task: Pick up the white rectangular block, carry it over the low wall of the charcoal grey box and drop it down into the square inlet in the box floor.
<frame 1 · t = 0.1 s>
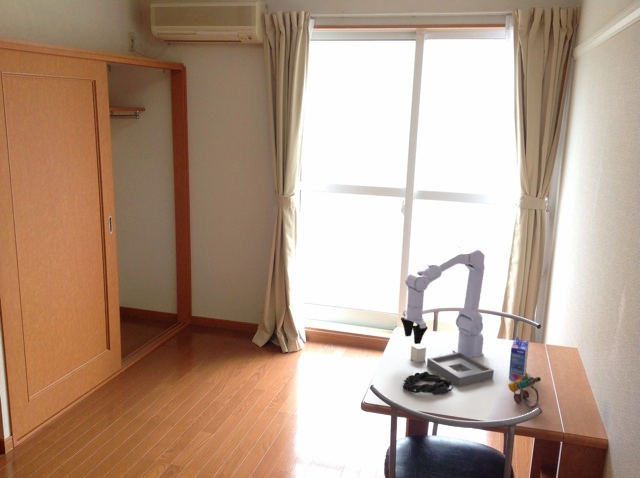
hand: (412, 339, 215), 10 cm above the table, tool pointing down, fingers open, 7 cm apart
white rectangular block: (417, 359, 222), on the table
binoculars: (522, 402, 191), on the table
cable: (424, 388, 199), on the table
walled box: (459, 372, 211), on the table
ink cartridge box: (516, 375, 211), on the table
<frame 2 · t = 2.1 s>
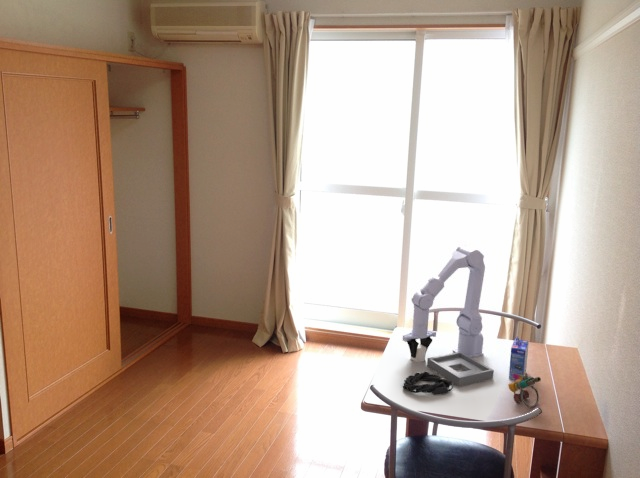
hand: (418, 356, 222), 1 cm above the table, tool pointing down, fingers closed on white rectangular block, 4 cm apart
white rectangular block: (417, 359, 222), on the table, touching gripper
everything else where it was.
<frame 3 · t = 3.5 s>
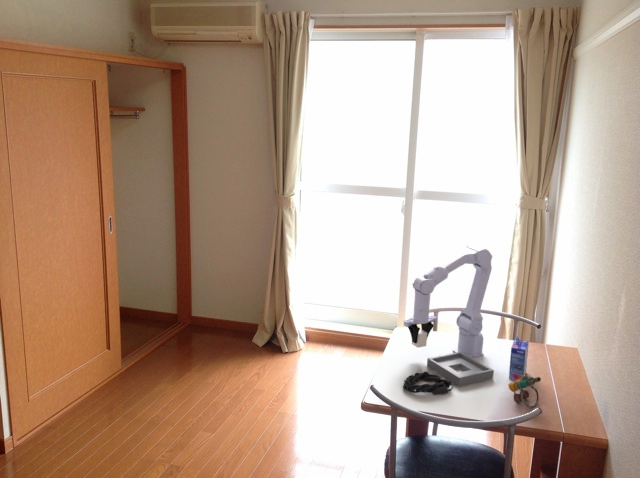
hand: (419, 341, 221), 7 cm above the table, tool pointing down, fingers closed on white rectangular block, 4 cm apart
white rectangular block: (418, 345, 221), point 6 cm above the table, touching gripper
everything else where it was.
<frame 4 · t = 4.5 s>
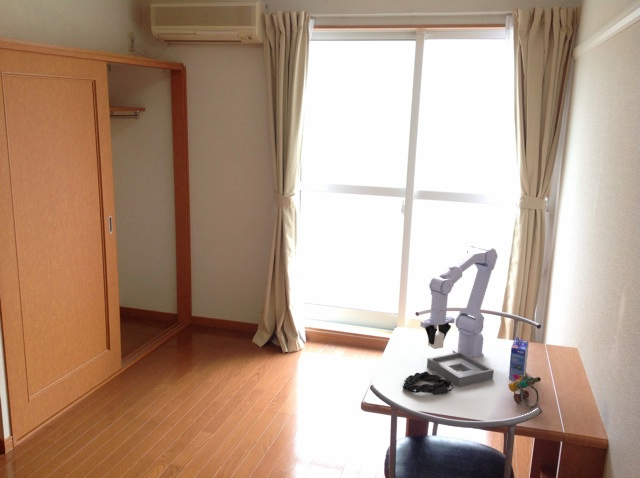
hand: (436, 342, 216), 9 cm above the table, tool pointing down, fingers closed on white rectangular block, 4 cm apart
white rectangular block: (435, 346, 216), point 7 cm above the table, touching gripper
everything else where it was.
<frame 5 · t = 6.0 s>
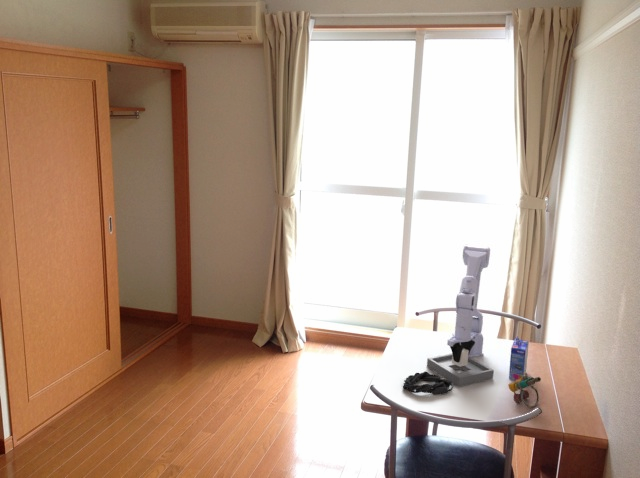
hand: (460, 360, 210), 5 cm above the table, tool pointing down, fingers closed on white rectangular block, 4 cm apart
white rectangular block: (459, 363, 211), point 4 cm above the table, touching gripper
everything else where it was.
when the fingers open (4 cm above the table, at t = 7.0 s): white rectangular block drops 2 cm, resting in walled box.
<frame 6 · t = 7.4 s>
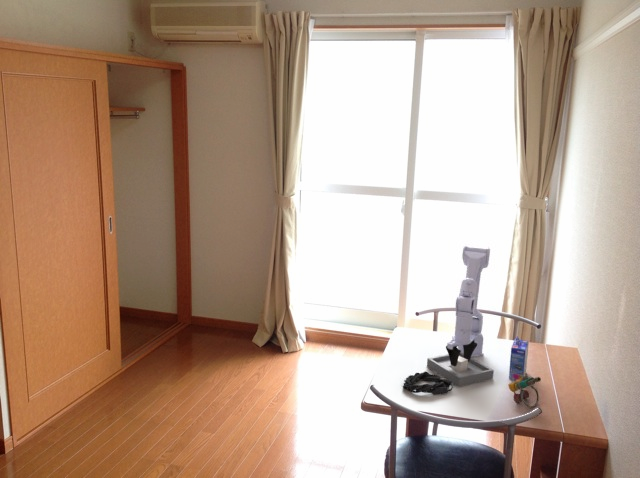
hand: (460, 363, 211), 4 cm above the table, tool pointing down, fingers open, 7 cm apart
white rectangular block: (458, 372, 212), resting in walled box
everything else where it was.
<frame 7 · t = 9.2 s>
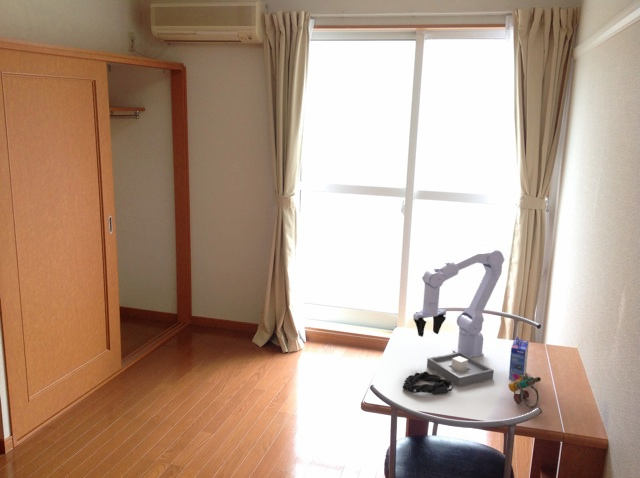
hand: (428, 334, 223), 9 cm above the table, tool pointing down, fingers open, 7 cm apart
nothing on the table moved.
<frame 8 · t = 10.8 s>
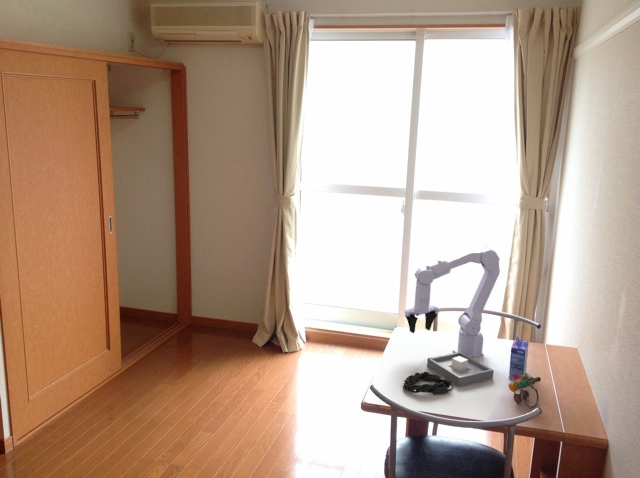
hand: (419, 330, 226), 9 cm above the table, tool pointing down, fingers open, 7 cm apart
nothing on the table moved.
at the end: white rectangular block 0.2 cm off-centre on the walled box, point 0.0 cm above the walled box's base; the gripper is holding nothing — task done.
